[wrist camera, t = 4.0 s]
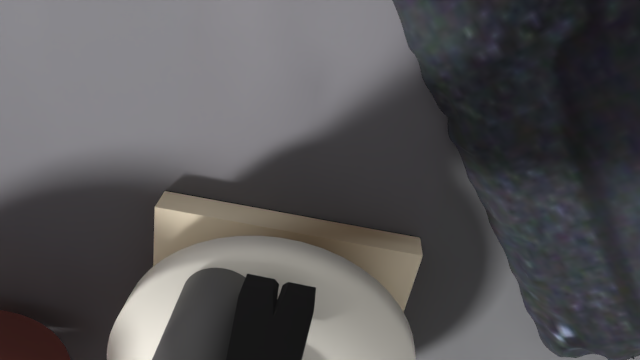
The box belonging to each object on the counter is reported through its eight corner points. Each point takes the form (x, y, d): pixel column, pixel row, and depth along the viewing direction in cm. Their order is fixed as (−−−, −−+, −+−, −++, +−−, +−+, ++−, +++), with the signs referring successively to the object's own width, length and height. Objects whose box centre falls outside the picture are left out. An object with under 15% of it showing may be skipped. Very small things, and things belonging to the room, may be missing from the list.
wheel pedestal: (419, 237, 15) (425, 273, 14) (365, 404, 18) (365, 445, 17) (164, 191, 15) (145, 222, 13) (158, 368, 18) (142, 406, 17)
